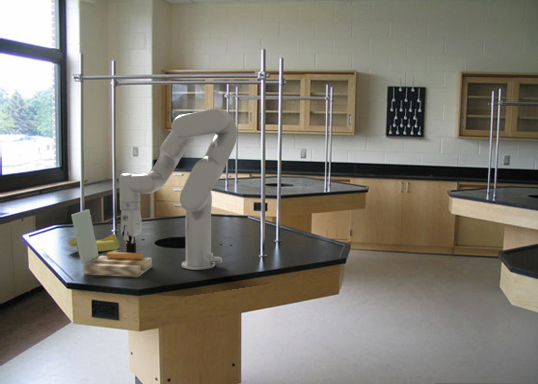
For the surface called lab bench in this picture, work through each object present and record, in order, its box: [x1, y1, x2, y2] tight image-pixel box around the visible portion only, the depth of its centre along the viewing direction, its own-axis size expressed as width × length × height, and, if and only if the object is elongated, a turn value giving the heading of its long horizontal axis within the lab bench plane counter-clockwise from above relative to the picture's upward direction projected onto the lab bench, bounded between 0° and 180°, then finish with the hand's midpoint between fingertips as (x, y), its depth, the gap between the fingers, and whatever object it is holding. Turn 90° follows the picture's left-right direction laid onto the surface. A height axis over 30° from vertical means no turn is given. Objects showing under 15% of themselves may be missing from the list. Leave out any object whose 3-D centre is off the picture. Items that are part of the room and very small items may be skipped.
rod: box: [105, 251, 144, 260], centre depth 202 cm, size 14×2×2 cm, turn 82°
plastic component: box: [67, 233, 120, 254], centre depth 230 cm, size 20×7×10 cm
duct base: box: [83, 255, 153, 278], centre depth 199 cm, size 20×14×4 cm
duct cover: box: [71, 208, 100, 265], centre depth 199 cm, size 18×12×1 cm
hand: (131, 253), depth 208 cm, fingers closed
